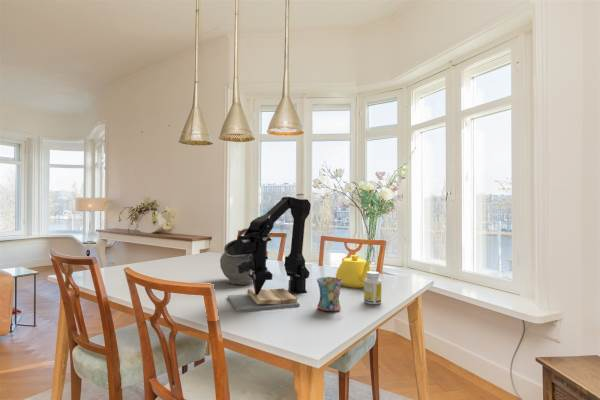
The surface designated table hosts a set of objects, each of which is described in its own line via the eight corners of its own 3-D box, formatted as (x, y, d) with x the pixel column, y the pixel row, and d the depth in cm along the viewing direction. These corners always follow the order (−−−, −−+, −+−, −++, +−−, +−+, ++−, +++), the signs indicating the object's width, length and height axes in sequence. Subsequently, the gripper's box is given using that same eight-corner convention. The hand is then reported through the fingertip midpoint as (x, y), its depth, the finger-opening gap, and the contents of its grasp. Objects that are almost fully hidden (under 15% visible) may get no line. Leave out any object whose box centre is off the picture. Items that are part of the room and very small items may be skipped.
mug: (312, 306, 127) (312, 277, 127) (334, 304, 130) (335, 276, 130) (326, 316, 116) (326, 285, 116) (350, 314, 119) (351, 283, 119)
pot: (247, 275, 178) (248, 227, 179) (272, 282, 163) (273, 229, 164) (211, 281, 165) (212, 228, 165) (234, 289, 149) (236, 231, 150)
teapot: (387, 289, 155) (387, 259, 155) (352, 292, 149) (352, 260, 149) (358, 277, 178) (358, 251, 178) (327, 280, 172) (327, 252, 172)
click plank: (268, 293, 141) (269, 289, 141) (281, 304, 126) (281, 299, 126) (247, 292, 137) (247, 288, 138) (257, 304, 123) (257, 299, 123)
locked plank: (283, 292, 143) (283, 288, 143) (296, 302, 128) (297, 298, 128) (269, 293, 141) (270, 289, 141) (282, 304, 126) (282, 299, 126)
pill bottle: (381, 301, 136) (382, 271, 136) (380, 305, 130) (380, 274, 130) (365, 299, 138) (365, 270, 138) (362, 303, 132) (363, 273, 132)
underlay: (283, 293, 145) (283, 291, 145) (299, 306, 127) (299, 303, 127) (227, 297, 136) (227, 295, 136) (237, 312, 118) (237, 309, 118)
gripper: (233, 249, 137) (231, 289, 136) (242, 256, 119) (240, 302, 119) (260, 249, 141) (258, 288, 140) (273, 256, 123) (271, 300, 123)
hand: (256, 294), depth 131 cm, fingers closed, pressing on click plank
